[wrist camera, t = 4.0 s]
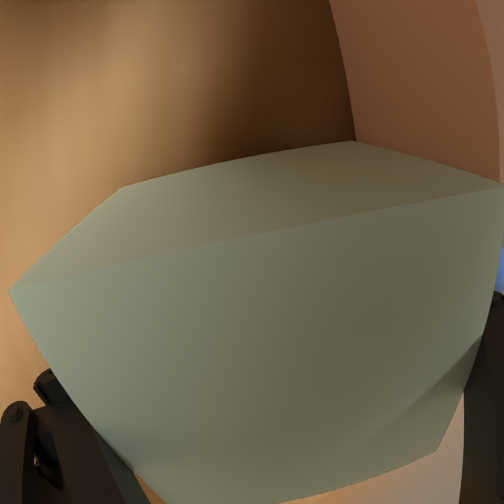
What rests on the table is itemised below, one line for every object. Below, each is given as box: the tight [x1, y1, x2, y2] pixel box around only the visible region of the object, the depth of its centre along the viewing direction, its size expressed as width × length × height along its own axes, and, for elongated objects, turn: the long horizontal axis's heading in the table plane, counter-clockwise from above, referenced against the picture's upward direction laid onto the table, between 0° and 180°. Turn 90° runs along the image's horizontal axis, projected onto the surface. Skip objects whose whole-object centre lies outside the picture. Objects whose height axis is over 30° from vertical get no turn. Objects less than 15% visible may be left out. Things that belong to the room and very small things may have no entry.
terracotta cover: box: [329, 0, 504, 185], centre depth 8 cm, size 10×10×9 cm
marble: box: [494, 247, 504, 293], centre depth 16 cm, size 3×3×3 cm
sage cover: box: [8, 141, 504, 504], centre depth 11 cm, size 10×10×9 cm
